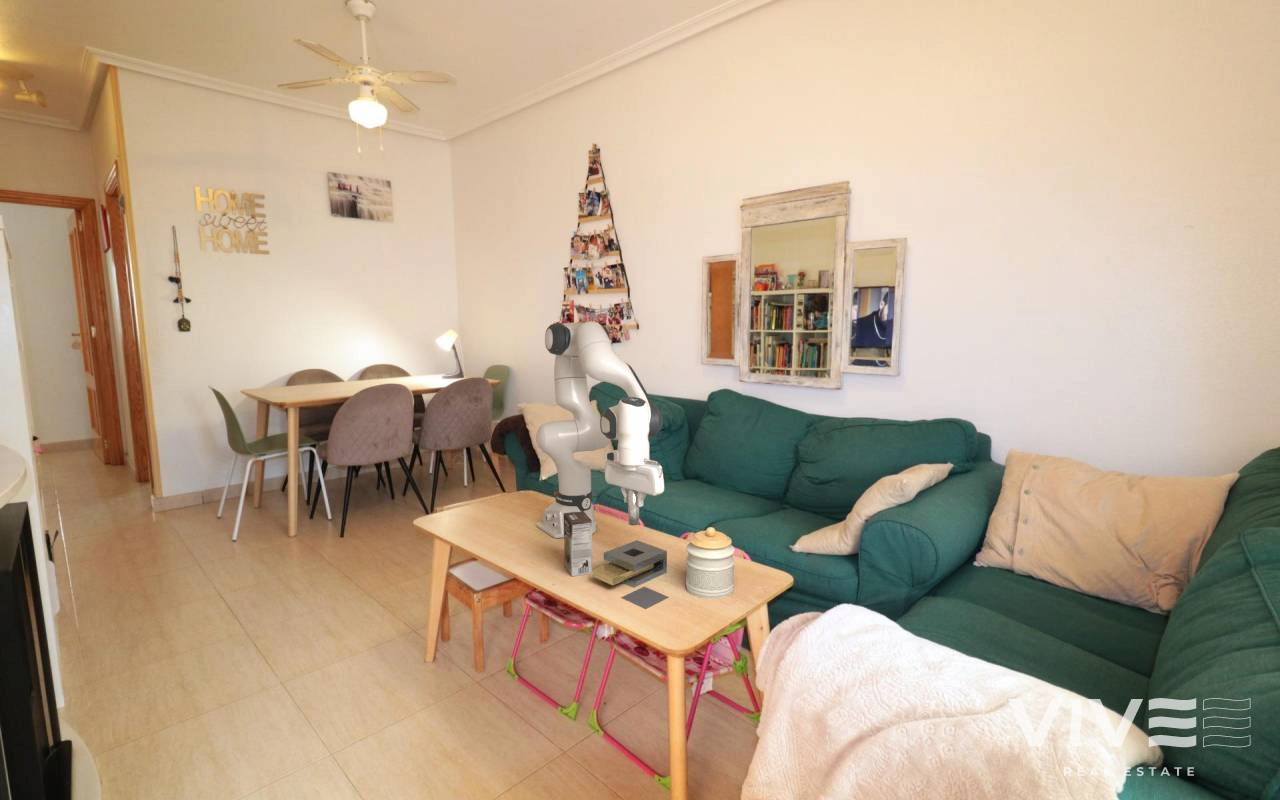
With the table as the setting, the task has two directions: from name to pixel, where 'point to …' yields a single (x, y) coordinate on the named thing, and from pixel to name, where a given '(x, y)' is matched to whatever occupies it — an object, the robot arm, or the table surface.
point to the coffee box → (578, 543)
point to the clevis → (632, 564)
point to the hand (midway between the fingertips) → (633, 504)
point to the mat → (644, 597)
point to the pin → (633, 507)
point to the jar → (710, 565)
